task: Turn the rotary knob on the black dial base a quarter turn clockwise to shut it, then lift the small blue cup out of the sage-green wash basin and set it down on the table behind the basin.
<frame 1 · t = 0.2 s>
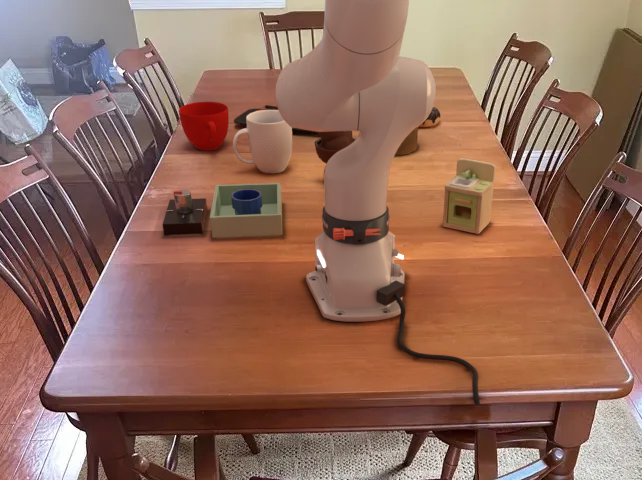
basin: (249, 221, 154), on the table
sushi plate: (295, 118, 212), on the table
rotary knob: (183, 201, 150), point 5 cm above the table, hinge at 90.0°
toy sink: (465, 225, 153), on the table
wooden container: (389, 147, 192), on the table
donut: (421, 123, 208), on the table
black dial base: (186, 223, 153), on the table
ceramic cup: (209, 149, 191), on the table
blue cup: (248, 218, 154), point 1 cm above the table, touching basin
ice cream bowl: (337, 182, 172), on the table
mug: (268, 170, 179), on the table
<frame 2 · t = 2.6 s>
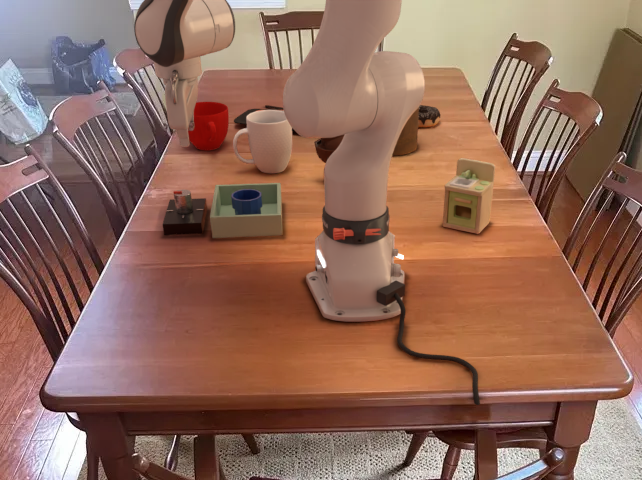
hand: (187, 137, 143), 18 cm above the table, tool pointing down, fingers open, 8 cm apart
nothing on the table moved.
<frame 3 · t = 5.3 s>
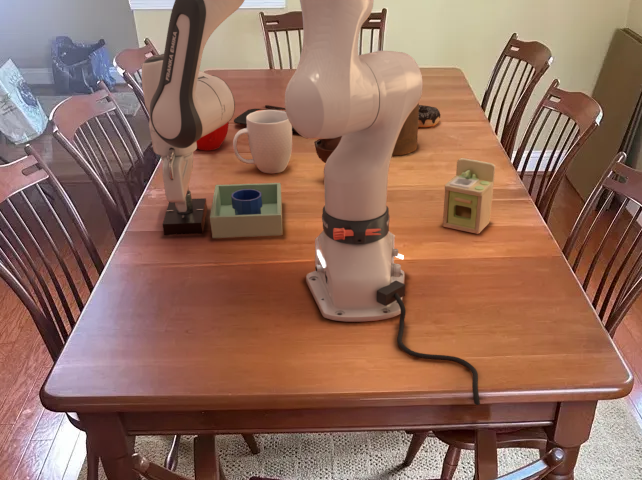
hand: (184, 205, 151), 4 cm above the table, tool pointing down, fingers closed on rotary knob, 3 cm apart
rotary knob: (183, 201, 150), point 5 cm above the table, hinge at 90.1°, touching gripper
everything else where it was.
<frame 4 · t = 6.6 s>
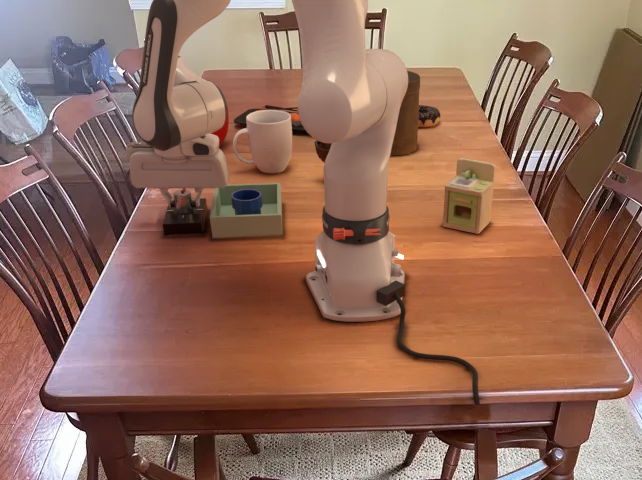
hand: (184, 206, 151), 4 cm above the table, tool pointing down, fingers closed on rotary knob, 4 cm apart
rotary knob: (183, 201, 150), point 5 cm above the table, hinge at -11.6°, touching gripper
everything else where it was.
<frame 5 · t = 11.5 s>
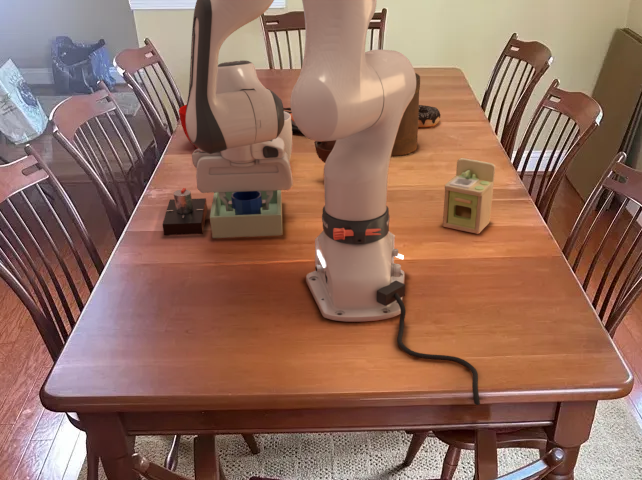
hand: (248, 209, 153), 3 cm above the table, tool pointing down, fingers closed on blue cup, 6 cm apart
rotary knob: (183, 201, 150), point 5 cm above the table, hinge at -12.7°
blue cup: (248, 218, 154), point 1 cm above the table, touching basin, gripper
everything else where it was.
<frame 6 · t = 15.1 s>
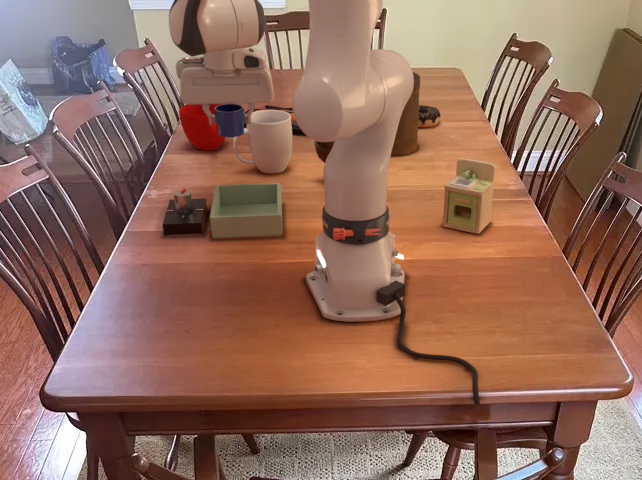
hand: (230, 123, 157), 16 cm above the table, tool pointing down, fingers closed on blue cup, 6 cm apart
blue cup: (231, 133, 159), point 14 cm above the table, touching gripper
everything else where it was.
when the fingers open (2 cm above the table, at t = 18.7 s): blue cup stays where it is, on the table.
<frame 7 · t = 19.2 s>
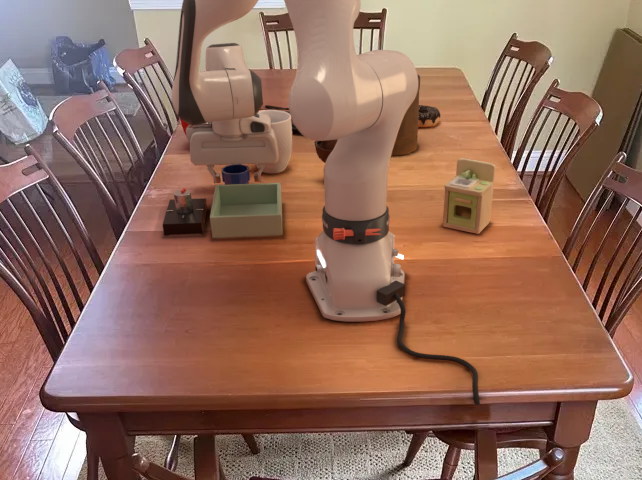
hand: (237, 181, 166), 2 cm above the table, tool pointing down, fingers open, 8 cm apart
blue cup: (237, 191, 167), on the table
everything else where it was.
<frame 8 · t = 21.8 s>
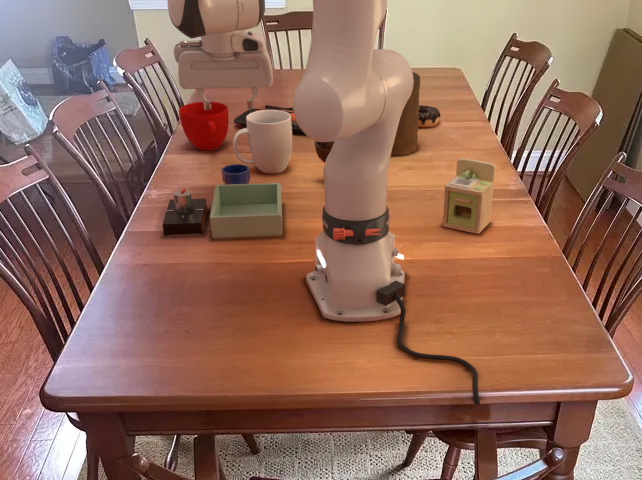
hand: (229, 108, 156), 19 cm above the table, tool pointing down, fingers open, 8 cm apart
nothing on the table moved.
at the end: rotary knob at -13° (first picture: +90°); blue cup inside the target area (0.2 cm from its centre), on the table; blue cup tilted 0° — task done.
